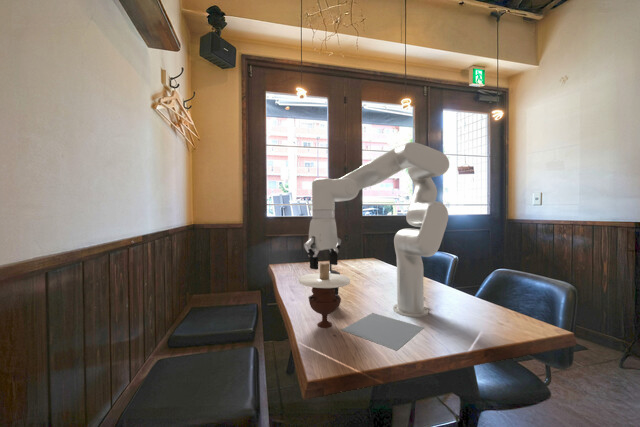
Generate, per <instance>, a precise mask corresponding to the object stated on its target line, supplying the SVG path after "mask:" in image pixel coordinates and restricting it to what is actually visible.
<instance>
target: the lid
mask: <svg viewBox="0 0 640 427" xmlns="http://www.w3.org/2000/svg"><path fill="white" fill-rule="evenodd" d="M329 270H330V263H329V262H321V263H319V273H318V272H317V273H308V274H304V275H302V276H299V278H298V283H299V284H301V285H302V286H306V287H308V288H309V287H311V288H312V287H315V288H337V287H339V288H343V287H346V286H348V285H349V284H350V283H351V278H350V277H348V276H346V275H343V274H340V275H339V274H332V273H329Z"/></svg>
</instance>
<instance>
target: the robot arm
mask: <svg viewBox="0 0 640 427" xmlns="http://www.w3.org/2000/svg"><path fill="white" fill-rule="evenodd" d="M449 168H450V161H449V157H448V156H447V155H446V154H445V153H443V152H442V151H440V150H438V149H435V148H432V147H431V146H427V145H424V144H422V143H419V142H414V141H411V142H407V143H404V144H401V145H399V146H397V147H395V148H392V149H391V150H388V151H387V152H385V153H383V154H382V155H381V154H380V155H379V156H378V157H376V158H374V159H372V160H370V161H368V162H367V163H365V164H363V165H361V166H359V168H356V169H354V170H353V171H351V172H349V173H347V174H345V175H344V176H341V177H340V178H334V179H333V178H327V177H319V178H316V179H314V180H313V181H312V184H311V198H312V200H311V202H312V204H311V205H312V206H311V207H312V211H311V213H312V216H311V217H312V219H311V220H310V222H309V227H308V228H309V229H308V240H307V241H306V242H304V243H303V247H304V249H305V252H306V254H307V255H308V257H309V269H311V270H314V271H315V270H317V271H318V270H319V257H318V254H319V252H320V251H325V250H329V251H330V252H329V259H328V260H329V262H328V263H329V265H330V264H331V266H332V265H333V266H337V265H338V262H339V261H338V253H339V252H340V251H339V250H340V249H341V243H342V239H341V238H339V237H338V229H337V221H336V215H335V214H336V213H335V212H336V211H335V210H336V207H335V206H336V204H335V202H337V203H338V202H346V201H351V200H354V199H355V198H357V196H358V194H359V193H360V191H361V190H363V189H366V188H369V187H372V186H375V185H377V184H380V183H382V182H384V181H386V180H387V179H389V178H390V177H392V176H394V175H396V174H398V173H399V172H401V171H404V170H405V169H407V173H408V175H409V178H410V179H411V181H412V184H413V187H414V190H413V194H412V198H411V200H410V203H409V206H408V208H407V212H406V214H405V215H406V216H405V218H406V222H407V223H408V225H410V226H413V227H415V228H409V227H408V228H407V227H406V228H402V229H399V230H398V231H397V232H395V235H394V237H393V243H394V251H395V255H396V290H397V291H396V301H397V302H396V304H394V305H393V307H392V310H393V312H394V313H396V314H397V315H400V316H404V317H409V318H424V317H426V316H428V315H429V309H428V308H427V307H425V305H424V304H425V301H426V297H425V295H424V292H425V291H424V289H425V288H424V263H423V258H422V257H425V258H428V257H429V258H430V257H432V256H435V255H436V254H437V252H438V250H439V249H440V246H441V244H442V240H443V238H444V234H445V232H446V229H447V225H448V221H449V211H448V208H447V207H446V205H445V204H444V203H442V202H440V201H436V200H437V196H438V189H437V186H436V184H435V182H434V181H433V179H432V178H436V177H439V176H442V175H444V174H445V173H447V172H448V170H449Z"/></svg>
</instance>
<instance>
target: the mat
mask: <svg viewBox="0 0 640 427" xmlns="http://www.w3.org/2000/svg"><path fill="white" fill-rule="evenodd" d="M423 329H425V327H424V326H420V325H418V324H413V323H411V322H410V323H409V322H408V321H407V322H406V321H403V320H400V319H395V318H392V317H388V316H385V315H382V314H378V313H375V312H372V313H370V314H368V315H366V316H364V317H362V318H360V319H359V320H357V321H354V322H353V323H351V324H349V325H347V326H345V327H344V328H342V329H341V331H343V332H345V333H348V334H351V335H354V336H356V337H358V338H361V339H365V340H367V341H369V342H372V343H375V344H378V345H381V346H383V347H386V348H389V349H391V350H395V351H398V350H400V349H401V348H402V347H403V346H404V345H406V344H407V343H408V342H409V341H410V340H411V339H413V338H414V337H415V336H416V335H417V334H418V333H420V332H421V331H423Z"/></svg>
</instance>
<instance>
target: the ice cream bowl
mask: <svg viewBox="0 0 640 427" xmlns="http://www.w3.org/2000/svg"><path fill="white" fill-rule="evenodd" d="M311 293H312V294H311V295H309V296H308V297H307V298H308V303H309V306H310V308H311V309H312V310H313V311H314V312H315V313H317V314H319V315H321V316H322V317H321V320H320V321H318V323H317V324H316V326H317V327H318V328H320V329H328V328H331V327H332V326H334V325H333V323H332V322H330V321H329V320H328V315H330V314H332V313H334V312H335V311H336V310H337V309H338V308H339V307H340V305H341V302H342V298H341V296H340V295H339V294H338V295H336V294H335V289H334V288H315V287H311Z"/></svg>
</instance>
